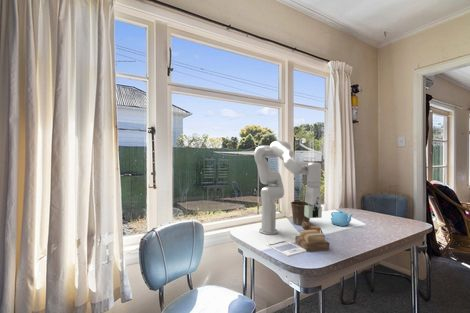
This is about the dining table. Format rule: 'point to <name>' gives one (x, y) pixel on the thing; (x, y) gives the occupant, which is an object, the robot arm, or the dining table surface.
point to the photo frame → (289, 252)
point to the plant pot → (299, 212)
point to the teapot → (340, 218)
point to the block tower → (311, 240)
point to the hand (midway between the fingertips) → (312, 215)
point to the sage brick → (311, 211)
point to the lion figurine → (310, 227)
